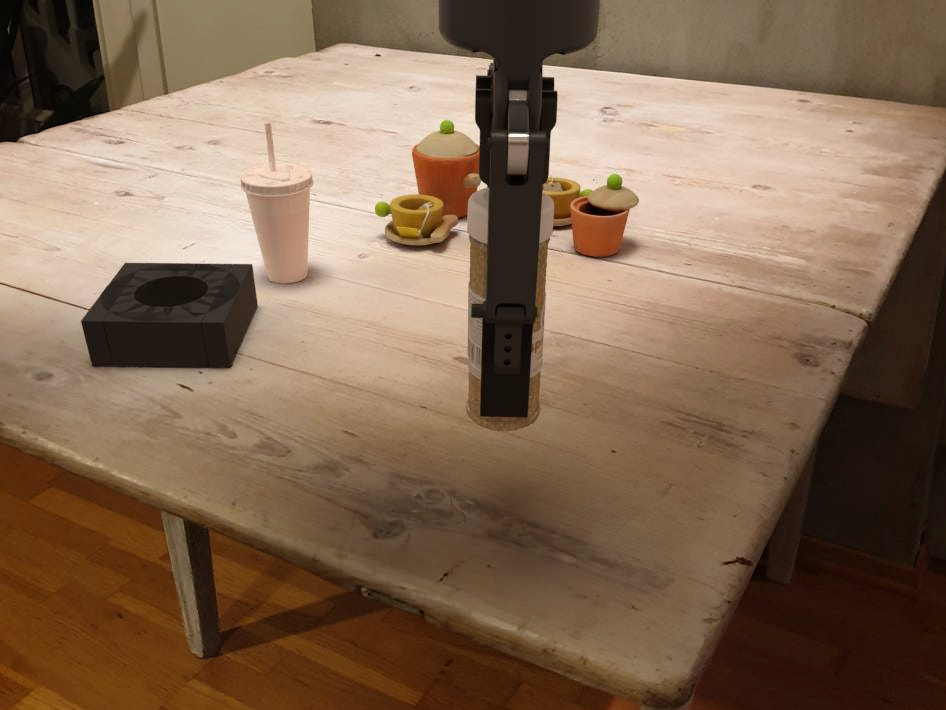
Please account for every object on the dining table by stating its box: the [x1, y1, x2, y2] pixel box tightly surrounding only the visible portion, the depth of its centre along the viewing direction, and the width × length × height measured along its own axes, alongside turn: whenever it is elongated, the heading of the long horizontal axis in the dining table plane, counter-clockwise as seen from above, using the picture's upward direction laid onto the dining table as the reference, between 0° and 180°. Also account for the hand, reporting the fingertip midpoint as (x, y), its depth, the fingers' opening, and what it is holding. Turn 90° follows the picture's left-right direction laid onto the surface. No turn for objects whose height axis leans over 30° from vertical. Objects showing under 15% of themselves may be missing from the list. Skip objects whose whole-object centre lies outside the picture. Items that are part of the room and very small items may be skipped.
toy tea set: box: [374, 119, 640, 258], centre depth 98 cm, size 26×16×10 cm, turn 81°
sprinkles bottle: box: [465, 187, 554, 432], centre depth 54 cm, size 5×5×14 cm
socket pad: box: [80, 262, 259, 369], centre depth 80 cm, size 11×11×4 cm
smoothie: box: [239, 121, 314, 285], centre depth 87 cm, size 6×6×14 cm
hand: (503, 389), depth 57 cm, fingers closed on sprinkles bottle, 4 cm apart
